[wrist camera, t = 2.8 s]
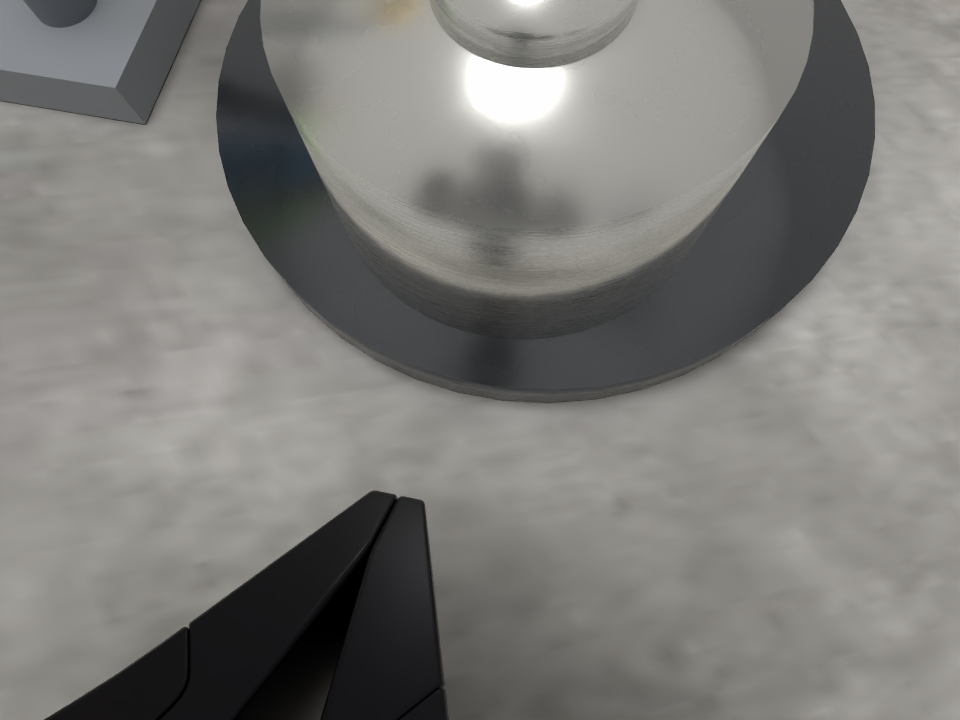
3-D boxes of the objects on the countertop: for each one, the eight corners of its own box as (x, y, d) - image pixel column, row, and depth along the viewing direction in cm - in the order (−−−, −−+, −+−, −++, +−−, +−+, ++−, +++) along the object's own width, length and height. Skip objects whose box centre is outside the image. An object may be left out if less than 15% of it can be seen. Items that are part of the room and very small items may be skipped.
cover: (787, 220, 20) (977, 10, 12) (450, 414, 18) (418, 315, 10) (574, -29, 23) (615, -316, 16) (275, 114, 22) (152, -129, 14)
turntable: (978, 199, 22) (1034, 159, 20) (417, 537, 19) (406, 536, 17) (615, -171, 29) (625, -234, 26) (151, 35, 25) (117, -16, 23)
